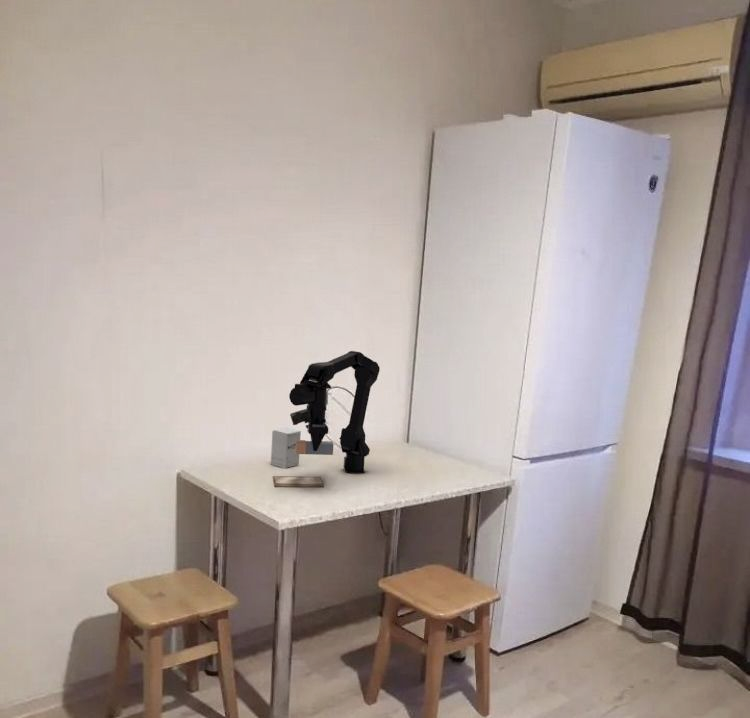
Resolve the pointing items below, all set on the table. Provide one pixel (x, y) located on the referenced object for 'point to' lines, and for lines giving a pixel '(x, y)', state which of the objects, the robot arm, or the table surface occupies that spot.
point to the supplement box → (284, 447)
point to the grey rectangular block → (307, 448)
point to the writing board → (297, 481)
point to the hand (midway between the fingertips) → (314, 449)
